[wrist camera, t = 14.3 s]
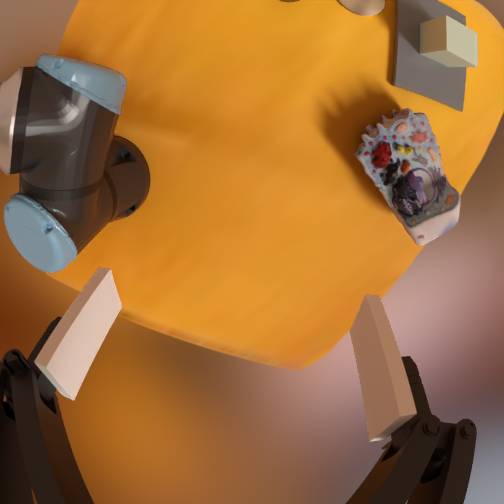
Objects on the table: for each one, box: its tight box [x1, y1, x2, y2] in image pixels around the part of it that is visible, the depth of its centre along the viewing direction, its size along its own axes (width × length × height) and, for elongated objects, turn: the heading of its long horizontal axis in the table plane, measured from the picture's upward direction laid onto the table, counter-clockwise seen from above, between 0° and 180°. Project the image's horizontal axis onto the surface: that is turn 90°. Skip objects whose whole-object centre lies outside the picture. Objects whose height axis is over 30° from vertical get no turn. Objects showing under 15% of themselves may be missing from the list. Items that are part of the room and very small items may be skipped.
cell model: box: [354, 108, 460, 246], centre depth 34 cm, size 13×11×20 cm
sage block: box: [420, 15, 478, 67], centre depth 21 cm, size 6×6×8 cm
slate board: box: [392, 0, 466, 112], centre depth 25 cm, size 14×20×1 cm
